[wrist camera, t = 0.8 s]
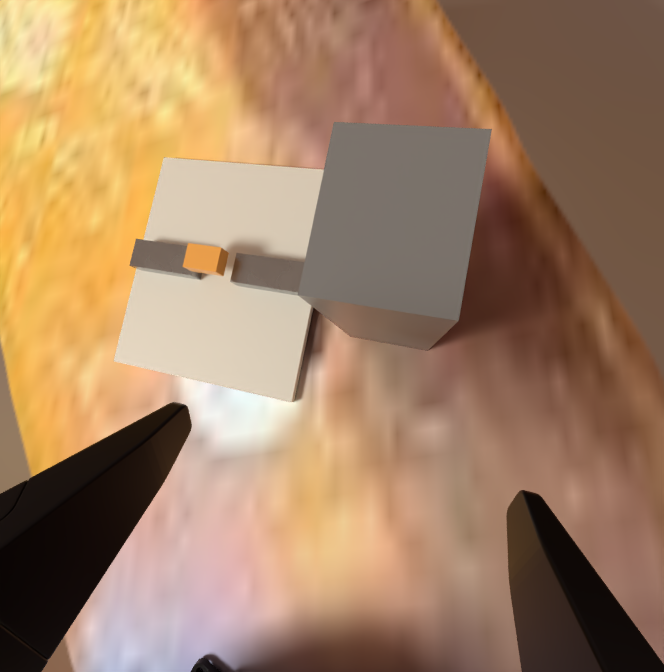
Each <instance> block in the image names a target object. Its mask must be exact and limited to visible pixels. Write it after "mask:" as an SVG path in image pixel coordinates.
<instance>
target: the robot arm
mask: <svg viewBox="0 0 664 672" xmlns="http://www.w3.org/2000/svg"><path fill="white" fill-rule="evenodd" d="M191 427H192V424H191V419H190V414H189V410H188V407H187V406H186V405H184V404H180V403H176V402H172V403H170V404H168V405H166V406H164V407H162V408H160V409H158V410H156V411H155V412H153V413H151V414H149V415H147V416H145V417H143V418H141V419H140V420H138V421H136V422H134V423H132V424H130V425H128V426H127V427H125V428H123V429H121V430H119V431H117V432H115V433H113V434H112V435H110V436H108V437H106V438H104V439H102V440H100V441H98V442H97V443H95V444H93V445H91V446H89V447H87V448H85V449H84V450H82V451H80V452H78V453H76V454H74V455H72V456H70V457H69V458H67V459H65V460H63V461H61V462H59V463H57V464H56V465H54V466H52V467H50V468H48V469H46V470H44V471H42V472H41V473H39V474H37V475H35V476H33V477H31V478H30V479H29V480H28V481H27V480H26V481H24V482H22V483H20V484H18V485H16V486H14V487H12V488H10V489H9V490H7V491H5V492H3V493H1V494H0V672H41V671H42V670H43V668H44V667H45V665H46V664H47V662H48V659H49V658H50V657H51V656H52V654H53V653H54V651H55V649H56V648H57V646H58V645H59V643H60V642H61V640H62V639H63V637H64V636H65V634H66V633H67V631H68V629H69V628H70V626H71V625H72V623H73V622H74V620H75V619H76V617H77V616H78V614H79V613H80V611H81V609H82V608H83V606H84V605H85V603H86V602H87V600H88V599H89V597H90V596H91V594H92V593H93V591H94V589H95V588H96V586H97V585H98V583H99V582H100V580H101V579H102V577H103V576H104V574H105V572H106V571H107V569H108V568H109V566H110V565H111V563H112V562H113V560H114V559H115V557H116V556H117V554H118V552H119V551H120V549H121V548H122V546H123V545H124V543H125V542H126V540H127V539H128V537H129V536H130V534H131V532H132V531H133V529H134V528H135V526H136V525H137V523H138V522H139V520H140V519H141V517H142V516H143V514H144V512H145V511H146V509H147V508H148V506H149V505H150V503H151V502H152V500H153V499H154V497H155V496H156V494H157V492H158V491H159V489H160V488H161V486H162V484H163V483H164V481H165V479H166V478H167V476H168V474H169V472H170V470H171V468H172V466H173V464H174V462H175V460H176V459H177V457H178V455H179V453H180V451H181V449H182V447H183V445H184V443H185V441H186V439H187V437H188V435H189V433H190V431H191ZM507 543H508V570H509V584H510V593H511V600H512V607H513V614H514V621H515V628H516V635H517V641H518V648H519V655H520V662H521V669H522V672H664V664H663V663H662V661H661V660H660V658H659V657H658V656H657V654H656V653H655V652H654V650H653V649H652V647H651V646H650V645H649V643H648V642H647V641H646V639H645V638H644V637H643V635H642V634H641V632H640V631H639V630H638V628H637V627H636V626H635V624H634V623H633V621H632V620H631V619H630V617H629V616H628V615H627V613H626V612H625V611H624V609H623V608H622V606H621V605H620V604H619V602H618V601H617V600H616V598H615V597H614V595H613V594H612V593H611V591H610V590H609V589H608V587H607V586H606V584H605V583H604V582H603V580H602V579H601V578H600V576H599V575H598V574H597V572H596V571H595V569H594V568H593V567H592V565H591V564H590V563H589V561H588V560H587V558H586V557H585V556H584V554H583V553H582V552H581V550H580V549H579V547H578V546H577V545H576V543H575V542H574V541H573V539H572V538H571V537H570V535H569V534H568V532H567V531H566V530H565V528H564V527H563V526H562V524H561V523H560V521H559V520H558V519H557V517H556V516H555V515H554V513H553V512H552V511H551V509H550V508H549V506H548V505H547V504H546V502H545V501H544V500H543V498H542V497H541V496H540V495H538V494H536V493H533V492H529V491H525V490H521V491H519V492H518V494H517V495H516V497H515V498H514V500H513V501H512V503H511V504H510V506H509V507H508V510H507ZM200 668H202V669H203V671H202V670H201V669H200ZM191 672H220V671H219V670H218V669H217V668H216V667H215V666H214V665H212V664H211V663H210V662H209V661H208V660H207V659H205V658H201V659H199V660H198V661H197V662H196V664H195V665H194V667H193V668H192V670H191Z"/></svg>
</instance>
